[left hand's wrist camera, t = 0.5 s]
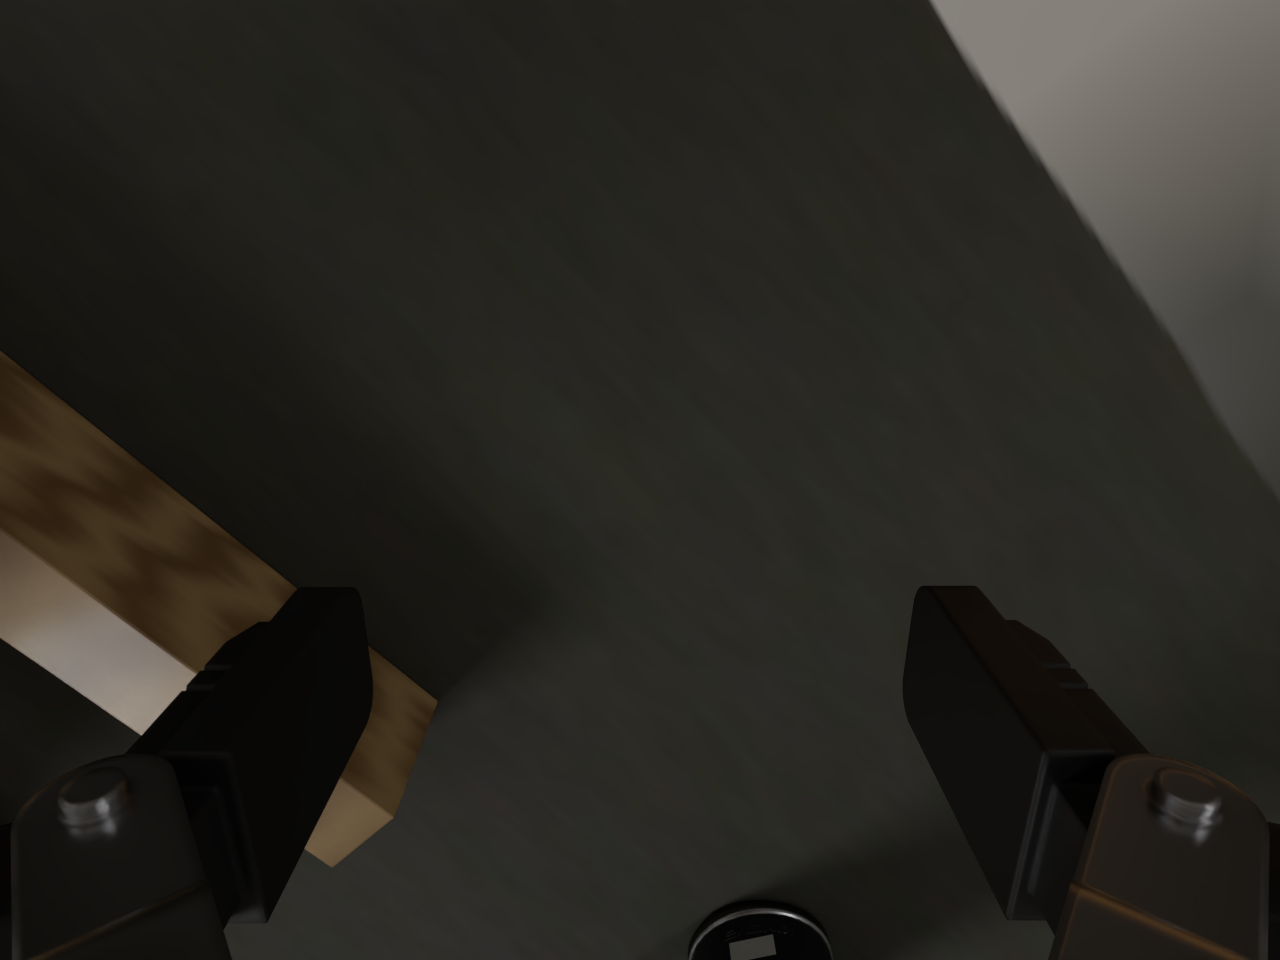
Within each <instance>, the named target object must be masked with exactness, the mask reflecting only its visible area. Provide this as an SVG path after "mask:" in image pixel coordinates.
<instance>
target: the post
mask: <svg viewBox="0 0 1280 960" xmlns="http://www.w3.org/2000/svg"><path fill="white" fill-rule="evenodd" d="M296 590H297V588H296V587H295V586H294V585H292V584H291V583H290V582H289V581H287V580H286V579H285V578H284V577H282V576H281V575H280V574H279V573H277V572H276V571H275V570H274V569H272V568H271V567H270V566H269V565H267V564H266V563H265V562H264V561H262V560H261V559H260V558H259V557H257V556H256V555H255V554H254V553H252V552H251V551H250V550H249V549H247V548H246V547H245V546H244V545H242V544H241V543H240V542H239V541H237V540H236V539H235V538H234V537H232V536H231V535H230V534H229V533H227V532H226V531H225V530H224V529H222V528H221V527H220V526H219V525H217V524H216V523H215V522H214V521H212V520H211V519H210V518H209V517H207V516H206V515H205V514H204V513H202V512H201V511H200V510H199V509H197V508H196V507H195V506H194V505H192V504H191V503H190V502H189V501H187V500H186V499H185V498H184V497H182V496H181V495H180V494H179V493H177V492H176V491H175V490H174V489H172V488H171V487H170V486H169V485H167V484H166V483H165V482H164V481H162V480H161V479H160V478H159V477H157V476H156V475H155V474H154V473H152V472H151V471H150V470H149V469H147V468H146V467H145V466H144V465H142V464H141V463H140V462H139V461H137V460H136V459H135V458H134V457H132V456H131V455H130V454H129V453H127V452H126V451H125V450H124V449H122V448H121V447H120V446H119V445H118V444H116V443H115V442H114V441H113V440H111V439H110V438H109V437H108V436H106V435H105V434H104V433H103V432H101V431H100V430H99V429H98V428H96V427H95V426H94V425H93V424H91V423H90V422H89V421H88V420H86V419H85V418H84V417H83V416H81V415H80V414H79V413H78V412H76V411H75V410H74V409H73V408H71V407H70V406H69V405H68V404H66V403H65V402H64V401H63V400H61V399H60V398H59V397H58V396H56V395H55V394H54V393H53V392H51V391H50V390H49V389H48V388H46V387H45V386H44V385H43V384H41V383H40V382H39V381H38V380H36V379H35V378H34V377H33V376H31V375H30V374H29V373H28V372H26V371H25V370H24V369H23V368H21V367H20V366H19V365H18V364H16V363H15V362H14V361H13V360H11V359H10V358H9V357H8V356H6V355H5V354H4V353H3V352H1V351H0V638H1V639H2V640H4V641H5V642H7V643H8V644H10V645H11V646H12V647H14V648H15V649H17V650H18V651H20V652H21V653H23V654H24V655H25V656H27V657H28V658H30V659H31V660H33V661H34V662H36V663H37V664H38V665H40V666H41V667H43V668H44V669H46V670H47V671H49V672H50V673H51V674H53V675H54V676H56V677H57V678H59V679H60V680H62V681H63V682H64V683H66V684H67V685H69V686H70V687H72V688H73V689H75V690H76V691H77V692H79V693H80V694H82V695H83V696H85V697H86V698H88V699H89V700H90V701H92V702H93V703H95V704H96V705H98V706H99V707H101V708H102V709H103V710H105V711H106V712H108V713H109V714H111V715H112V716H114V717H115V718H116V719H118V720H119V721H121V722H122V723H124V724H125V725H127V726H128V727H129V728H131V729H132V730H134V731H135V732H137V733H138V734H140V735H141V736H142V734H143V733H144V732H145V731H146V730H147V729H148V728H149V727H150V726H151V724H152V723H153V722H154V721H155V720H156V719H157V718H158V717H159V716H160V714H161V713H162V712H163V711H164V710H165V709H166V708H167V707H168V706H169V704H170V703H171V702H172V701H173V700H174V699H175V698H176V697H177V696H178V694H179V693H180V692H181V691H186V686H187V684H188V683H189V682H190V681H191V680H192V679H193V678H194V677H195V676H196V674H197V673H198V672H199V671H204V666H205V664H206V663H207V662H208V661H209V660H210V659H211V658H212V657H213V656H214V655H215V653H216V652H217V651H218V650H219V649H220V648H221V647H222V646H223V645H224V643H225V642H227V641H228V640H230V639H231V638H233V637H235V636H236V635H238V634H240V633H241V632H243V631H244V630H246V629H248V628H249V627H251V626H253V625H254V624H256V623H258V622H269V621H270V620H271V619H272V618H273V617H274V615H275V614H276V613H277V612H278V611H279V610H280V608H281V607H282V606H283V605H284V604H285V602H286V601H287V600H288V599H289V598H290V597H291V595H292V594H293V593H294V592H295V591H296ZM368 648H369V655H370V662H371V669H372V676H373V701H372V708H371V713H370V717H369V720H368V723H367V725H366V727H365V729H364V731H363V733H362V735H361V737H360V739H359V741H358V743H357V745H356V747H355V749H354V751H353V753H352V755H351V757H350V759H349V761H348V763H347V765H346V767H345V769H344V771H343V773H342V775H341V777H340V779H339V781H338V783H337V785H336V787H335V789H334V791H333V793H332V795H331V797H330V799H329V801H328V803H327V805H326V807H325V809H324V811H323V813H322V815H321V817H320V819H319V821H318V823H317V825H316V827H315V829H314V830H313V832H312V834H311V836H310V838H309V840H308V842H307V844H306V846H305V848H304V849H306V850H307V851H309V852H310V853H311V854H313V855H314V856H316V857H317V858H319V859H320V860H322V861H323V862H324V863H326V864H327V865H329V866H330V867H334V866H335V865H336V864H338V863H339V862H340V861H341V860H342V859H344V858H345V857H346V856H347V855H349V854H350V853H351V852H352V851H353V850H355V849H356V848H357V847H358V846H360V845H361V844H362V843H363V842H365V841H366V840H367V839H368V838H369V837H371V836H372V835H373V834H374V833H376V832H377V831H378V830H379V829H380V828H382V827H383V826H384V825H385V824H387V823H388V822H389V821H390V820H392V819H393V818H394V816H395V813H396V811H397V808H398V806H399V803H400V800H401V798H402V795H403V792H404V790H405V787H406V784H407V782H408V779H409V777H410V774H411V771H412V769H413V766H414V763H415V761H416V758H417V755H418V753H419V750H420V747H421V745H422V742H423V740H424V737H425V734H426V732H427V729H428V726H429V724H430V721H431V718H432V716H433V713H434V711H435V708H436V705H437V703H438V701H437V700H436V699H435V698H433V697H432V696H431V695H430V694H428V693H427V692H426V691H425V690H423V689H422V688H421V687H420V686H418V685H417V684H416V683H415V682H413V681H412V680H411V679H410V678H408V677H407V676H406V675H405V674H403V673H402V672H401V671H400V670H398V669H397V668H396V667H395V666H393V665H392V664H391V663H390V662H388V661H387V660H386V659H385V658H383V657H382V656H381V655H380V654H378V653H377V652H376V651H375V650H373V649H372V648H371V647H370V646H368Z"/></svg>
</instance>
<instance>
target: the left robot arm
mask: <svg viewBox="0 0 1280 960" xmlns="http://www.w3.org/2000/svg"><path fill="white" fill-rule="evenodd" d="M903 700H904V707H905V711H906V715H907V719H908V721H909V724H910V726H911V728H912V730H913V732H914V734H915V736H916V738H917V740H918V742H919V744H920V746H921V748H922V750H923V752H924V754H925V756H926V758H927V760H928V762H929V764H930V766H931V768H932V770H933V772H934V774H935V776H936V778H937V780H938V782H939V784H940V786H941V788H942V790H943V792H944V794H945V796H946V798H947V800H948V802H949V804H950V806H951V808H952V810H953V812H954V814H955V816H956V818H957V820H958V822H959V824H960V826H961V828H962V830H963V832H964V834H965V836H966V838H967V840H968V842H969V844H970V847H971V849H972V851H973V853H974V855H975V857H976V859H977V861H978V863H979V865H980V867H981V869H982V871H983V873H984V875H985V877H986V879H987V881H988V883H989V885H990V887H991V889H992V891H993V893H994V895H995V897H996V899H997V901H998V903H999V905H1000V907H1001V909H1002V911H1003V913H1004V915H1005V917H1006V919H1007V920H1046V921H1047V922H1048V924H1049V926H1050V928H1051V930H1052V932H1053V933H1054V935H1055V938H1054V941H1053V945H1052V948H1051V951H1050V955H1049V958H1048V960H1280V824H1275V823H1271V822H1267V821H1266V818H1265V816H1264V815H1263V813H1262V812H1261V810H1260V809H1259V807H1258V806H1257V805H1256V804H1255V803H1254V802H1253V801H1252V800H1251V799H1250V798H1249V797H1248V796H1247V795H1246V794H1245V793H1243V792H1242V791H1241V790H1240V789H1238V788H1237V787H1236V786H1234V785H1233V784H1231V783H1230V782H1228V781H1227V780H1225V779H1223V778H1222V777H1220V776H1218V775H1217V774H1215V773H1213V772H1210V771H1208V770H1206V769H1204V768H1202V767H1200V766H1197V765H1195V764H1192V763H1189V762H1186V761H1183V760H1180V759H1177V758H1172V757H1168V756H1164V755H1156V754H1150V753H1149V752H1148V751H1147V750H1146V748H1145V747H1144V746H1143V745H1142V744H1141V743H1140V742H1139V741H1138V739H1137V738H1136V737H1135V736H1134V735H1133V734H1132V733H1131V732H1130V730H1129V729H1128V728H1127V727H1126V726H1125V725H1124V724H1123V723H1122V722H1121V720H1120V719H1119V718H1118V717H1117V716H1116V715H1115V714H1114V713H1113V711H1112V710H1111V709H1110V708H1109V707H1108V706H1107V705H1106V704H1105V702H1104V701H1103V700H1102V699H1101V698H1100V697H1099V696H1098V695H1097V694H1096V692H1095V691H1094V690H1093V689H1088V683H1087V682H1086V681H1085V680H1084V679H1083V678H1082V677H1081V676H1080V674H1079V673H1078V672H1077V671H1076V670H1075V669H1071V668H1070V663H1069V662H1068V661H1067V660H1066V659H1065V658H1064V657H1063V655H1062V654H1061V653H1060V652H1059V651H1058V650H1057V649H1056V648H1055V646H1054V645H1053V644H1052V643H1051V642H1050V641H1049V640H1048V639H1046V638H1044V637H1043V636H1041V635H1039V634H1038V633H1036V632H1035V631H1033V630H1031V629H1030V628H1028V627H1026V626H1025V625H1023V624H1022V623H1020V622H1018V621H1017V620H1005V619H1004V618H1003V616H1002V615H1001V614H1000V613H999V612H998V610H997V609H996V608H995V607H994V606H993V604H992V603H991V602H990V601H989V600H988V598H987V597H986V596H985V595H984V594H983V592H982V591H981V590H980V589H979V588H978V587H976V586H921V587H920V588H919V589H918V591H917V593H916V595H915V599H914V604H913V611H912V618H911V625H910V632H909V639H908V646H907V654H906V661H905V668H904V675H903ZM372 701H373V676H372V669H371V662H370V655H369V648H368V642H367V635H366V628H365V621H364V614H363V607H362V601H361V597H360V595H359V592H358V591H357V589H355V588H354V587H300V588H298V589H297V590H296V591H295V592H294V593H293V594H292V595H291V597H290V598H289V599H288V600H287V601H286V602H285V604H284V605H283V606H282V607H281V608H280V610H279V611H278V612H277V613H276V614H275V615H274V617H273V618H272V619H271V620H270V621H269V622H258V623H256V624H254V625H253V626H251V627H249V628H248V629H246V630H244V631H243V632H241V633H240V634H238V635H236V636H235V637H233V638H231V639H230V640H228V641H227V642H225V643H224V645H223V646H222V647H221V648H220V649H219V650H218V651H217V652H216V653H215V655H214V656H213V657H212V658H211V659H210V660H209V661H208V662H207V663H206V664H205V666H204V671H199V672H198V673H197V674H196V676H195V677H194V678H193V679H192V680H191V681H190V682H189V683H188V684H187V686H186V691H181V692H180V693H179V694H178V696H177V697H176V698H175V699H174V700H173V701H172V702H171V703H170V704H169V706H168V707H167V708H166V709H165V710H164V711H163V712H162V713H161V714H160V716H159V717H158V718H157V719H156V720H155V721H154V722H153V723H152V724H151V726H150V727H149V728H148V729H147V730H146V731H145V732H144V733H143V734H142V736H141V737H140V738H139V739H138V740H137V741H136V742H135V743H134V744H133V746H132V747H131V748H130V749H129V750H128V751H127V752H126V753H125V754H124V755H117V756H112V757H108V758H103V759H100V760H97V761H94V762H91V763H88V764H85V765H83V766H80V767H78V768H76V769H74V770H72V771H70V772H67V773H65V774H63V775H62V776H60V777H58V778H57V779H55V780H53V781H52V782H50V783H49V784H47V785H46V786H44V787H43V788H42V789H40V790H39V791H38V792H37V793H35V794H34V795H33V796H32V797H31V798H30V799H29V800H28V801H27V802H26V803H25V804H24V805H23V806H22V807H21V809H20V810H19V812H18V813H17V815H16V816H15V818H14V821H13V823H9V824H5V825H1V826H0V960H232V958H231V955H230V951H229V948H228V945H227V941H226V938H225V934H224V931H223V930H224V928H225V926H226V925H227V923H267V922H268V920H269V918H270V916H271V914H272V912H273V910H274V908H275V906H276V904H277V902H278V900H279V898H280V896H281V894H282V892H283V890H284V888H285V886H286V884H287V882H288V880H289V878H290V876H291V874H292V872H293V870H294V868H295V866H296V864H297V862H298V860H299V858H300V856H301V854H302V852H303V850H304V848H305V846H306V844H307V842H308V840H309V838H310V836H311V834H312V832H313V830H314V829H315V827H316V825H317V823H318V821H319V819H320V817H321V815H322V813H323V811H324V809H325V807H326V805H327V803H328V801H329V799H330V797H331V795H332V793H333V791H334V789H335V787H336V785H337V783H338V781H339V779H340V777H341V775H342V773H343V771H344V769H345V767H346V765H347V763H348V761H349V759H350V757H351V755H352V753H353V751H354V749H355V747H356V745H357V743H358V741H359V739H360V737H361V735H362V733H363V731H364V729H365V727H366V725H367V723H368V720H369V717H370V713H371V708H372ZM688 960H833V956H832V950H831V946H830V942H829V939H828V936H827V933H826V931H825V929H824V928H823V926H822V925H821V924H820V923H819V922H818V921H817V919H815V918H814V917H813V916H812V915H810V914H809V913H807V912H806V911H804V910H802V909H800V908H798V907H795V906H792V905H789V904H785V903H781V902H774V901H752V902H745V903H740V904H737V905H733V906H730V907H727V908H725V909H723V910H721V911H719V912H717V913H715V914H714V915H712V916H711V917H709V918H708V919H707V920H705V921H704V922H703V923H702V924H701V925H700V926H699V927H698V929H697V930H696V931H695V933H694V934H693V936H692V938H691V941H690V944H689V948H688Z"/></svg>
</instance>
